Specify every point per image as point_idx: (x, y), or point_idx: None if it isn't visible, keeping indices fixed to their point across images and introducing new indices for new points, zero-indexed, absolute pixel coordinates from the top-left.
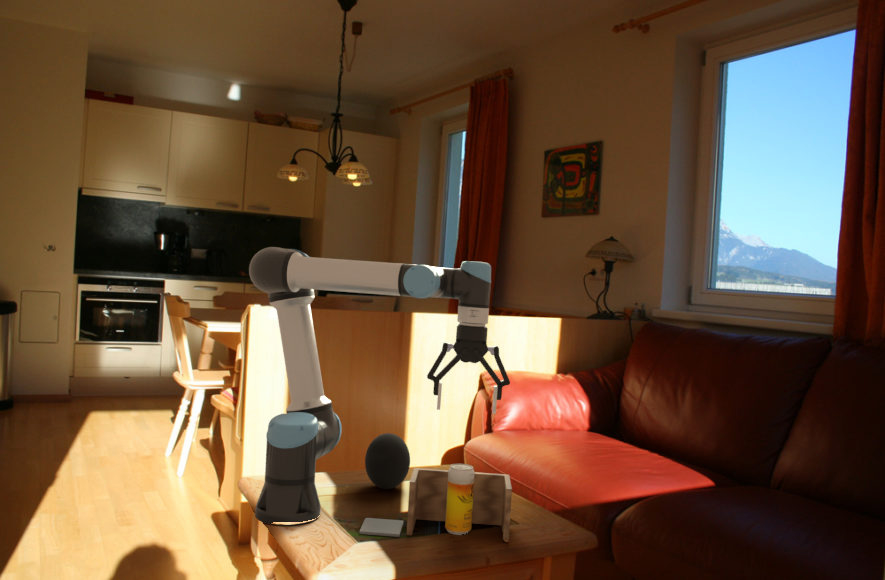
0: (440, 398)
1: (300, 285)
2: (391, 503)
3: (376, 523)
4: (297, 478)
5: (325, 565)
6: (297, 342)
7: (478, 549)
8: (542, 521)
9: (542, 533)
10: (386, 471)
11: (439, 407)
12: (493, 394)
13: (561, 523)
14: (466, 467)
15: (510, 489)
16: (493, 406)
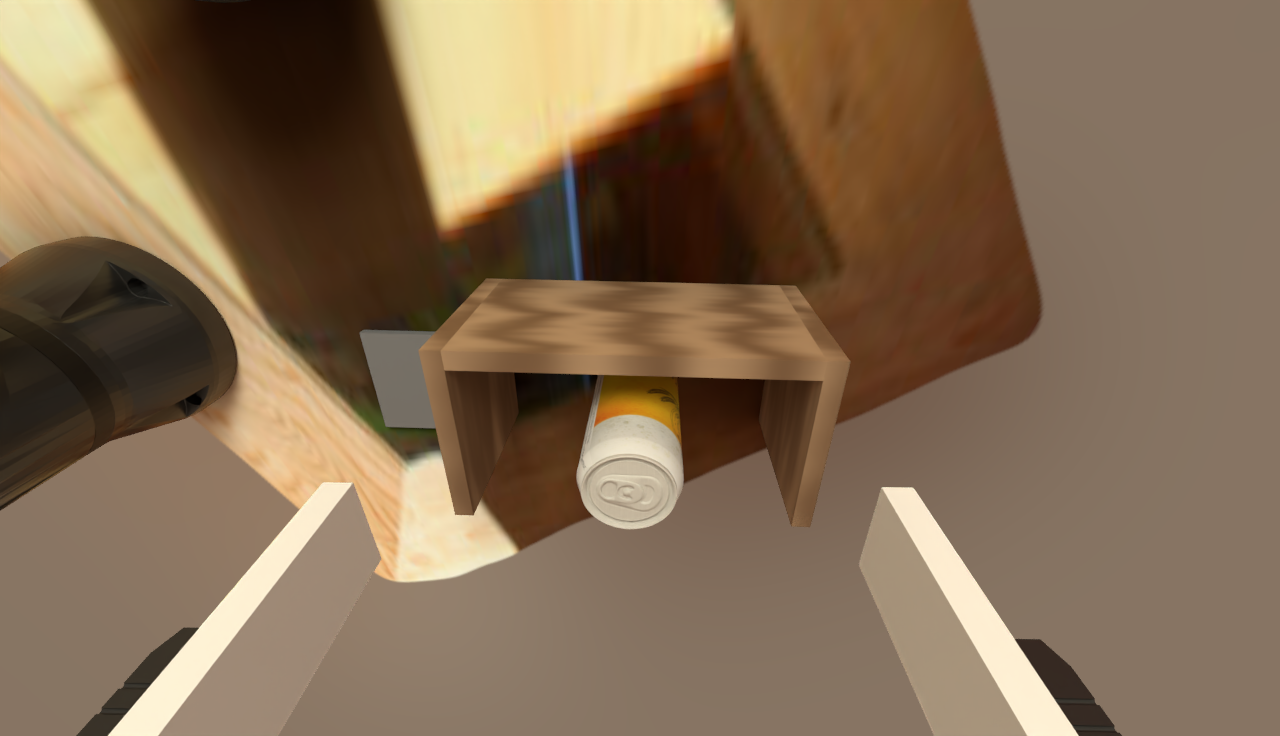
0: (319, 659)
1: None
2: (378, 140)
3: (406, 370)
4: (76, 461)
5: (393, 561)
6: None
7: (689, 465)
8: (936, 233)
9: (893, 342)
10: (231, 1)
11: (366, 576)
12: (978, 696)
13: (1001, 240)
14: (649, 485)
15: (805, 525)
16: (890, 627)
